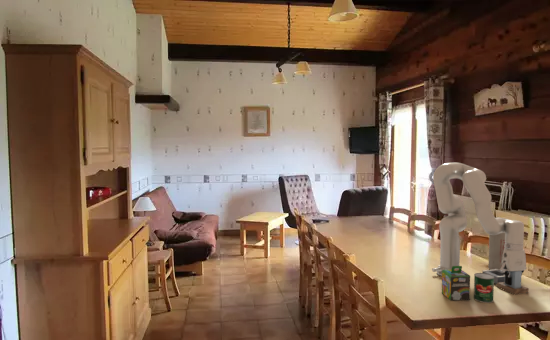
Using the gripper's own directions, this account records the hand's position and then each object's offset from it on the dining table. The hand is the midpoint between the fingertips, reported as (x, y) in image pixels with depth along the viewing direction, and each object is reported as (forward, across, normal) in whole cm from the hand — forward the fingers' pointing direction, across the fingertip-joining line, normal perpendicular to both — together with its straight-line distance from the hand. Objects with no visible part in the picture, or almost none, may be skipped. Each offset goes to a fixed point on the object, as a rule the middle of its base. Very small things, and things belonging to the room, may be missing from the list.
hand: (512, 283), depth 189 cm
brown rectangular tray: (+3, 0, 0) cm, 3 cm away
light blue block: (+3, 0, 0) cm, 3 cm away
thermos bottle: (+3, +16, +27) cm, 32 cm away
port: (+3, +3, +12) cm, 13 cm away
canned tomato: (+3, -22, -6) cm, 23 cm away
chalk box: (+3, -32, 0) cm, 32 cm away
